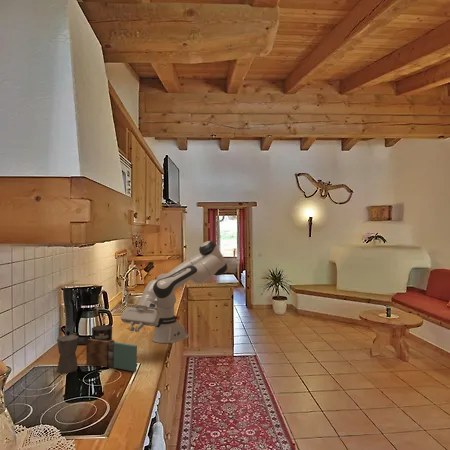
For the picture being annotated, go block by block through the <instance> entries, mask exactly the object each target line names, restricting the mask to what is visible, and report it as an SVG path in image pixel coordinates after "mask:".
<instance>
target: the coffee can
mask: <svg viewBox="0 0 450 450" xmlns="http://www.w3.org/2000/svg"><path fill="white" fill-rule="evenodd" d="M91 339H95V340H103V341H110V340H113V326H112V325H109V324H108V325H107V324H103V325H101V324H100V325H96V326H93V327H91Z"/></svg>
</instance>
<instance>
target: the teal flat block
mask: <svg viewBox="0 0 450 450" xmlns="http://www.w3.org/2000/svg"><path fill="white" fill-rule="evenodd" d="M137 348H138V345H137V344H136V345H135V344H130V343H123V342H117V341H115V343H114V351H108V359H110V360H112V359H114V368H115V369H119V370H124V371H130V372H134V371H135V372H137V368H138V366H137V365H138V363H137V362H138V360H137V359H138V349H137ZM114 368H113V369H114Z"/></svg>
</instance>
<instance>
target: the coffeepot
mask: <svg viewBox="0 0 450 450" xmlns="http://www.w3.org/2000/svg"><path fill="white" fill-rule="evenodd" d="M79 340H80V334H79V332H77V331H76V332H73V333H72V334H71V331H68V330H67V331H66V335H61V336H59V337H58V338H57V346H58V347H57V348H58V354H59V358H58V362H57V369H56V372H57V373H58V374H63V375H64V374H70V373H75V372H76V371H77V370H78V367H79V366H78V359H77V354H76V352H77V349H78V344H79Z"/></svg>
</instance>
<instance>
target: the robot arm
mask: <svg viewBox="0 0 450 450" xmlns="http://www.w3.org/2000/svg"><path fill="white" fill-rule="evenodd" d="M198 250H199V253H198V254H194V255H193V256H191V257H189V258H188V259H186V260H185V261H183V262H181V263H180V264H178V265H177V266H175V267H174V268H173V269H172V270H169V272H168V273H165V272H162V273H160V274H159V275H157V277H156V278H155V279H152V280H151V281H150V280H149V282H148V283H147V285H146V286H145V288H144V290H143V291H142V295H141V297H140V298H139V299H138V301H137V303H136V305H129V306H127V307H126V308H125V310H124V311H123V313H122V314H121V316H120V320H121V321H122V323H125V324H126V323H127V324H130V325H129V326H130V327H129V332H136V333H139V331H141V329H142V328H143V327H144V326H149V327H150V326H151V327H154V332H153V336H152V338H151V340H152V342H155V343H158V344H175V343H177V342H181V341H184V340H187V339H190V335H189V334H188V333H186V328H185V326H184V325H182V324H181V323H180V322H178V321H177V320H180V316H178V315H175V305H176V302H177V298H176V293H175V291H177V290H178V289H180V287H181V286H183V285H184V284H185V283H187V282H188V281H189V280H191V281H192V282H193V283H195V284H197V285H198V284H200V285H201V284H203V283H205V282H206V281H208V280H209V279H210V278H212V277H213V276H216V277H217V276H222V275H223V274H225V273H226V271H227V270H228V265H227V262H226V260H225V258H224V255H223V254H222V252H221V251H220V249H219V248H218V247H217V244H216V243H215V242H214V241H213V240H208V241H204V242H202V244H201V245H200V246H199V248H198ZM135 325H138V326H135ZM134 326H135V327H134Z"/></svg>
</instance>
